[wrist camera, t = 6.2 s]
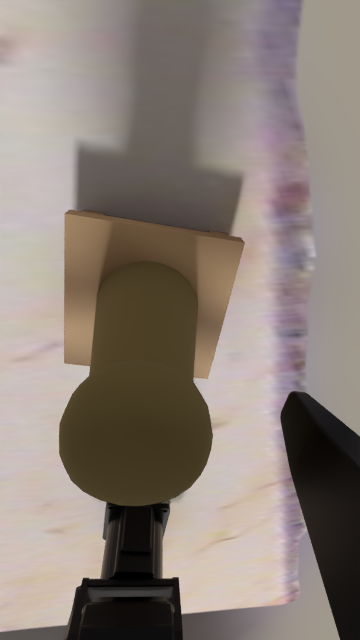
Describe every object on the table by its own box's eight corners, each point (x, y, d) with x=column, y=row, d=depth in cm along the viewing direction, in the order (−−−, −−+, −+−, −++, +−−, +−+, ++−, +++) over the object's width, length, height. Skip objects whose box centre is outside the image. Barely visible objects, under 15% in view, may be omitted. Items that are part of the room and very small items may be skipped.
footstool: (203, 353, 25) (207, 378, 22) (75, 338, 24) (64, 363, 21) (234, 228, 20) (244, 242, 18) (78, 202, 19) (64, 213, 17)
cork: (180, 246, 18) (202, 377, 8) (209, 336, 21) (251, 509, 11) (77, 280, 18) (-14, 437, 9) (119, 362, 21) (86, 547, 12)
